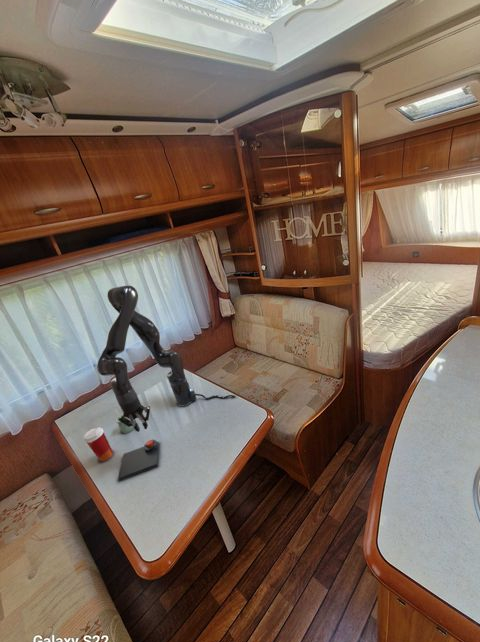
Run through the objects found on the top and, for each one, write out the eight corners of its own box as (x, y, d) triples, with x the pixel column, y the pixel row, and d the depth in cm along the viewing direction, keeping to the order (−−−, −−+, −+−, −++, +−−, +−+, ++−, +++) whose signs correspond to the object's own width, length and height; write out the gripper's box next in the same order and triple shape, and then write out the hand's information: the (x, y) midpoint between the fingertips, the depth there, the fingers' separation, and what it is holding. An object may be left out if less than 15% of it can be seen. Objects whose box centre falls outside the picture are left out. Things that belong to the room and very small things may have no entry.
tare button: (153, 441, 128) (152, 439, 127) (153, 446, 125) (152, 443, 125) (147, 444, 127) (146, 441, 127) (146, 448, 125) (145, 445, 124)
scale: (159, 443, 131) (156, 437, 129) (157, 466, 118) (155, 460, 117) (125, 455, 128) (122, 450, 126) (119, 481, 115) (116, 475, 113)
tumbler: (134, 423, 149) (129, 411, 145) (133, 430, 143) (127, 419, 140) (123, 427, 147) (117, 415, 144) (121, 434, 142) (115, 423, 139)
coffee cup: (102, 451, 133) (88, 428, 127) (118, 447, 133) (105, 424, 127) (93, 465, 126) (78, 442, 120) (111, 461, 126) (96, 438, 120)
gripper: (108, 409, 111) (125, 440, 118) (143, 398, 113) (157, 429, 120) (112, 399, 117) (127, 429, 124) (145, 389, 120) (158, 418, 127)
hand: (142, 429), depth 122 cm, fingers closed
